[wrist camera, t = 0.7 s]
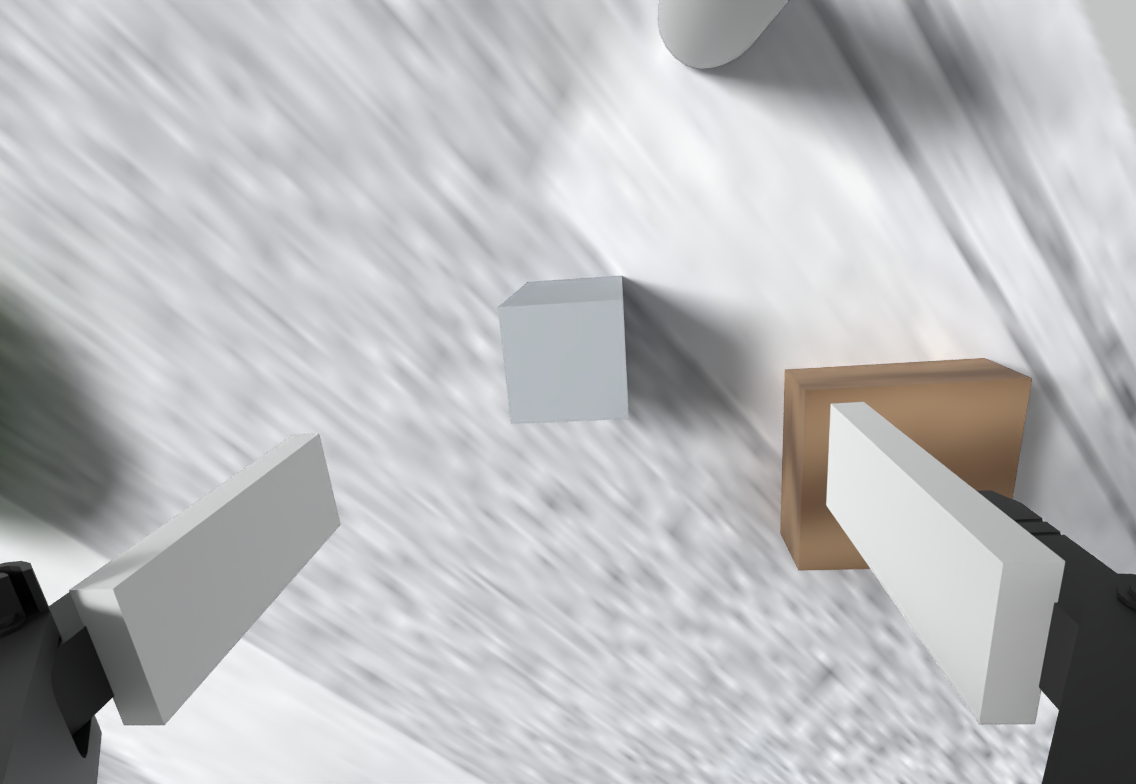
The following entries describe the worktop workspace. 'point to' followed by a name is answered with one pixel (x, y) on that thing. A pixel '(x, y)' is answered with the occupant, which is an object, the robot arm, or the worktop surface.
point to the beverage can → (713, 28)
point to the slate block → (565, 351)
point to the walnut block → (918, 409)
